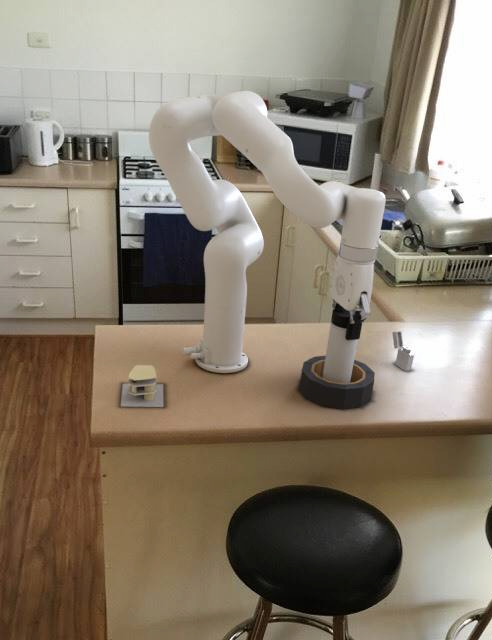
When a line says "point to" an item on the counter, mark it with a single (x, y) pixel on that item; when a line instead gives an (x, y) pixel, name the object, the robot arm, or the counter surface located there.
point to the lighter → (402, 352)
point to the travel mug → (339, 349)
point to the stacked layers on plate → (142, 388)
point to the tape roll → (336, 385)
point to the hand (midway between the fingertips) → (344, 331)
